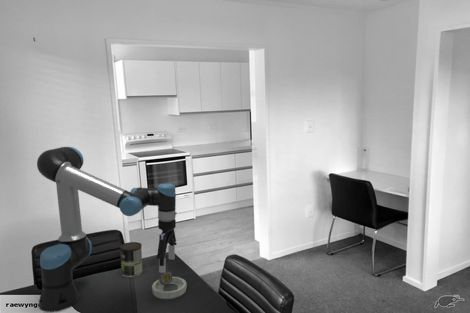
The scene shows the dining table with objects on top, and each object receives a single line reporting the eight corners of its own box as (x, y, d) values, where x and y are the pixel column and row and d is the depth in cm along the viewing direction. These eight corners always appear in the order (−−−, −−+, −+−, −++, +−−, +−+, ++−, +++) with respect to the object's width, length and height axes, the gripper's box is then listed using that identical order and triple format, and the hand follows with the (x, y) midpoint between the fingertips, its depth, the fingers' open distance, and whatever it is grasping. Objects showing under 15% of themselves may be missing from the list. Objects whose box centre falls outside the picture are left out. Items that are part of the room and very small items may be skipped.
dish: (147, 298, 159) (147, 291, 158) (158, 282, 173) (158, 276, 173) (181, 300, 157) (181, 293, 156) (189, 283, 171) (189, 277, 171)
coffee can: (123, 279, 177) (122, 251, 175) (119, 271, 186) (118, 244, 184) (145, 274, 181) (143, 247, 180) (140, 266, 190) (138, 240, 189)
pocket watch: (174, 293, 160) (173, 272, 159) (156, 291, 162) (155, 270, 161) (181, 285, 168) (180, 264, 167) (164, 283, 170) (163, 262, 169)
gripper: (166, 229, 148) (166, 278, 151) (182, 211, 172) (182, 254, 175) (148, 227, 149) (149, 277, 152) (167, 210, 173) (167, 253, 176)
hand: (167, 265), depth 163 cm, fingers open, 13 cm apart
